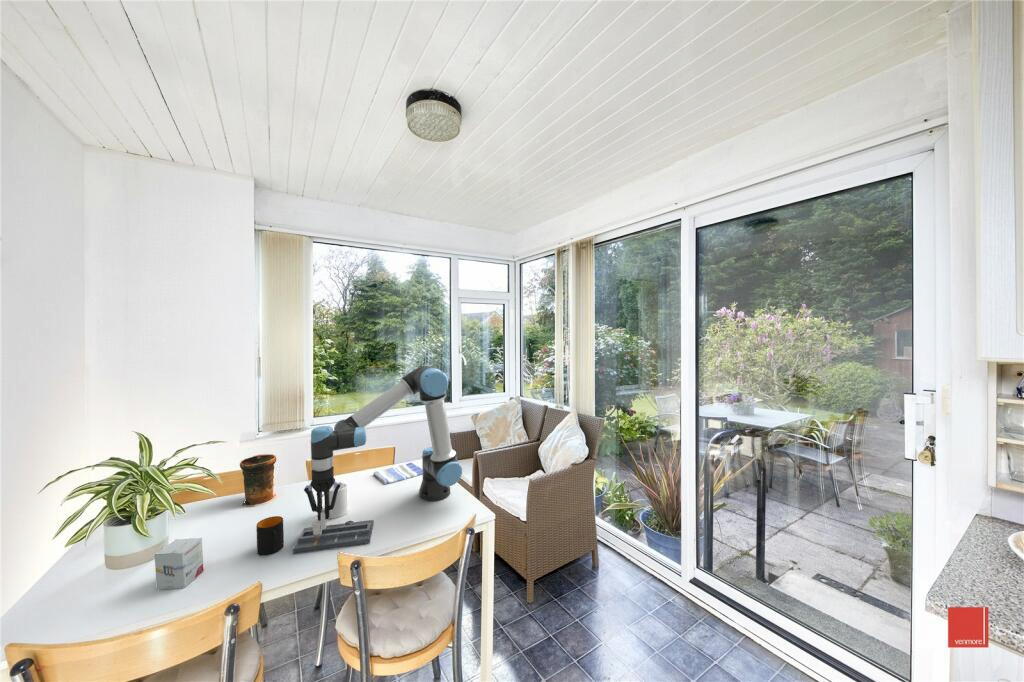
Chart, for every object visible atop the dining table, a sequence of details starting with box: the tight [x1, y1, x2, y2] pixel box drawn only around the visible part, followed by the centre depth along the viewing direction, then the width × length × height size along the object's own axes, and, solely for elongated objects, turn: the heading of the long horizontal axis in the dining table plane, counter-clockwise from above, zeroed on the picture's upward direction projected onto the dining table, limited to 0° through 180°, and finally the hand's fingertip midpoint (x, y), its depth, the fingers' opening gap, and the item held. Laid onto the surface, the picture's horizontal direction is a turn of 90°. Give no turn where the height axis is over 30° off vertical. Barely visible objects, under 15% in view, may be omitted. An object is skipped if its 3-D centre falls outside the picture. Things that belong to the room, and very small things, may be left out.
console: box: [292, 519, 375, 555], centre depth 143 cm, size 26×14×3 cm, turn 104°
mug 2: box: [322, 482, 349, 519], centre depth 161 cm, size 12×8×12 cm
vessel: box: [239, 453, 277, 508], centre depth 174 cm, size 14×14×20 cm
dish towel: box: [373, 462, 423, 486], centre depth 204 cm, size 17×24×3 cm
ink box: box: [154, 537, 204, 591], centre depth 119 cm, size 9×9×12 cm
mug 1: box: [256, 515, 285, 557], centre depth 135 cm, size 8×12×10 cm
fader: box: [311, 517, 322, 535], centre depth 141 cm, size 3×4×6 cm
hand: (323, 527), depth 142 cm, fingers closed
